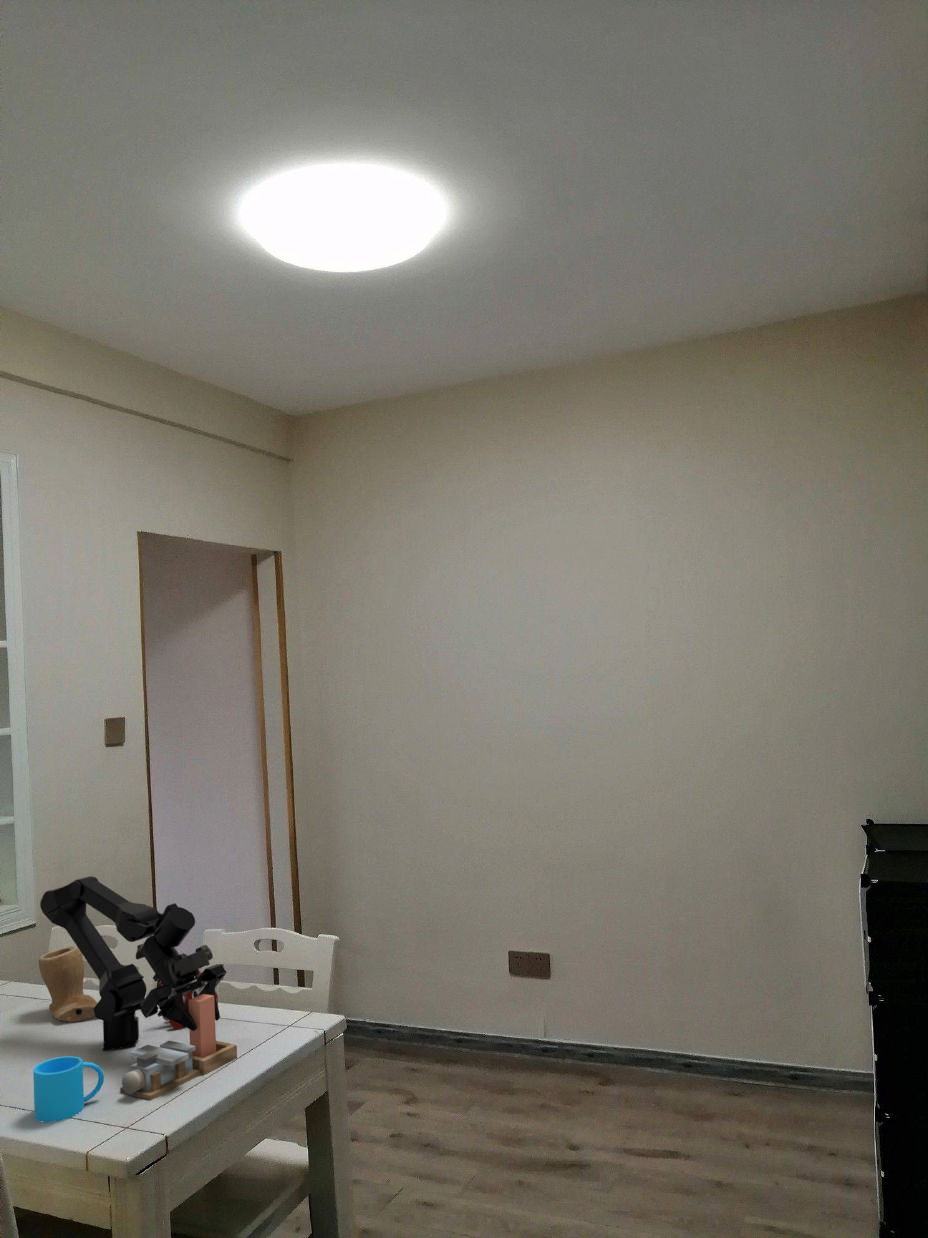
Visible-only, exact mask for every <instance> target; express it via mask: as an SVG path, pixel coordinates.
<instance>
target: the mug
mask: <svg viewBox="0 0 928 1238" xmlns="http://www.w3.org/2000/svg"><path fill="white" fill-rule="evenodd" d="M84 1068H91V1069H93V1070H94V1071H95V1072H96V1073H97V1077H98V1078H97V1079H98V1080H97V1083H96V1085H95V1087H94V1088H93V1089H92V1090H91V1092H90V1093H88V1094H86V1095H85V1096H84V1093H85V1092H84ZM32 1071H33V1072H32V1073H33V1102H34V1103H33V1108H34V1120H36V1119H37V1120H36V1121H38V1122H41V1121H43V1122H42V1123H53V1122H52V1121H57V1122H61V1120H62V1121H64V1120H63V1119H66V1120H68V1119H71V1118H73V1116H74V1117H76V1116H77V1115H79V1114H80V1113H82V1110H84V1109H85V1102H88V1101H89V1100H91V1099H92V1098H94V1097H95V1096H96V1095H97V1094H98V1093H99V1091H100V1090H101V1088H102V1086H103V1084H104V1080H105V1075H104V1071H103V1069H102V1068H101V1067H100V1065H98V1064H96V1063H94V1062H88V1061H83V1059H82V1058H80V1057H79V1056H73V1055H71V1056H69V1055H68V1056H67V1055H65V1056H59V1057H54V1058H53V1057H52V1058H51V1059H47V1060H44V1061H42V1062H39V1063H38V1064H37V1065H35V1066H34V1067H33V1069H32ZM83 1108H84V1109H83ZM79 1112H80V1113H79ZM76 1114H77V1115H76ZM70 1117H71V1118H70Z"/></svg>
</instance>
